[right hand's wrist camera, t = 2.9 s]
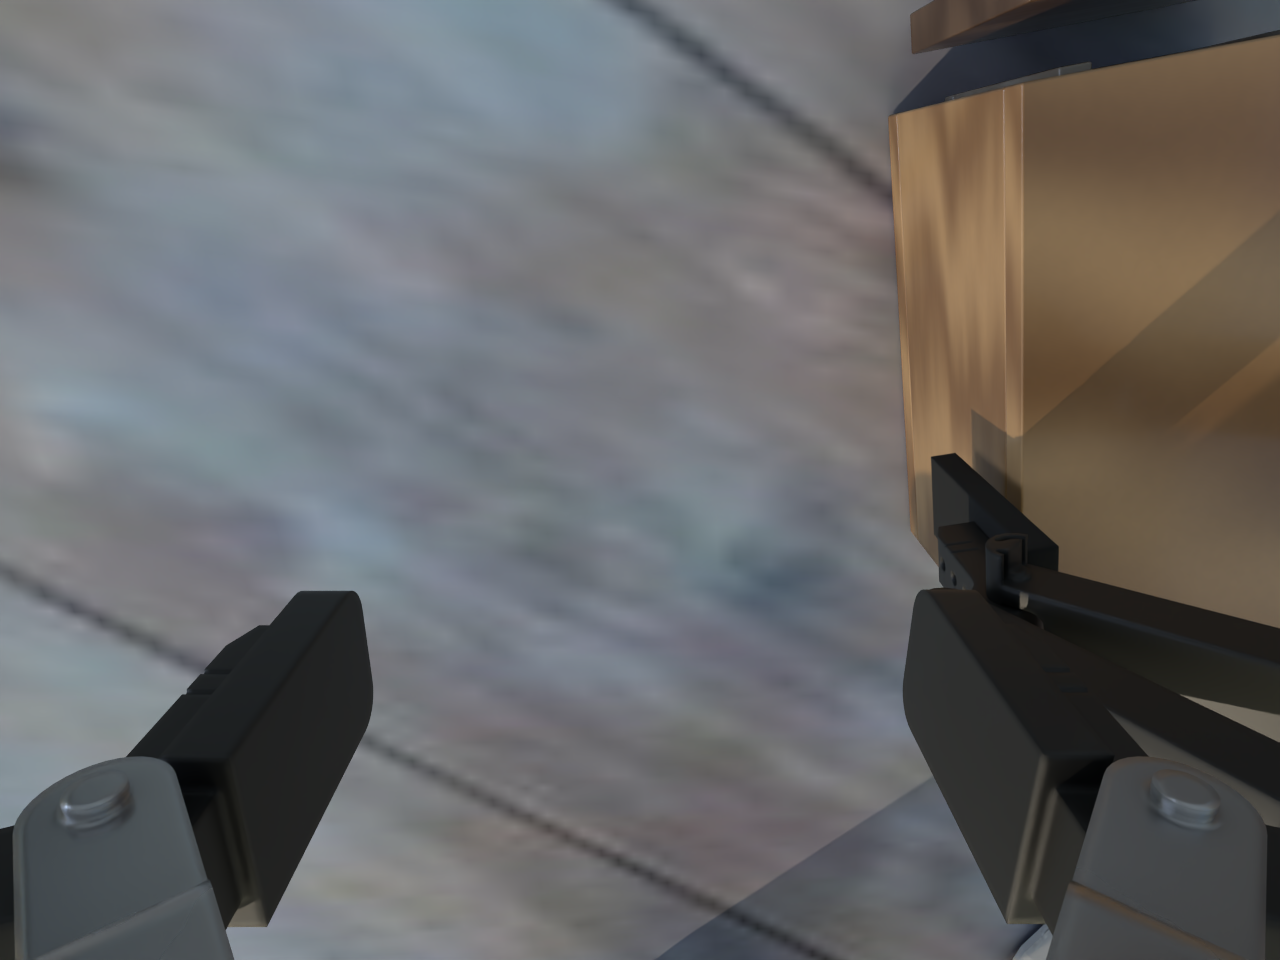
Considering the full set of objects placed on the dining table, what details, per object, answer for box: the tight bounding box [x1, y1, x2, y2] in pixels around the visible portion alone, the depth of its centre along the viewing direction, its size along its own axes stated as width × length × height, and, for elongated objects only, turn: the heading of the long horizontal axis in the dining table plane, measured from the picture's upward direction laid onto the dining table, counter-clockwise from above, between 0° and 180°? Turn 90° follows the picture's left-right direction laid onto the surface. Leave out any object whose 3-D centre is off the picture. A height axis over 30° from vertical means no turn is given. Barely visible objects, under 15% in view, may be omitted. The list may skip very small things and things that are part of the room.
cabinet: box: [888, 34, 1280, 628], centre depth 26 cm, size 16×11×10 cm
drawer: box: [910, 0, 1280, 101], centre depth 23 cm, size 21×10×8 cm, turn 10°
